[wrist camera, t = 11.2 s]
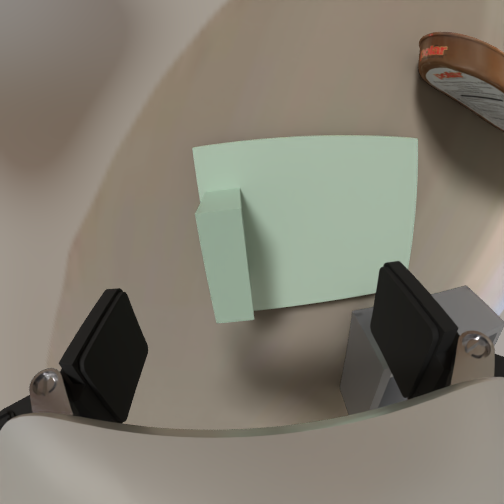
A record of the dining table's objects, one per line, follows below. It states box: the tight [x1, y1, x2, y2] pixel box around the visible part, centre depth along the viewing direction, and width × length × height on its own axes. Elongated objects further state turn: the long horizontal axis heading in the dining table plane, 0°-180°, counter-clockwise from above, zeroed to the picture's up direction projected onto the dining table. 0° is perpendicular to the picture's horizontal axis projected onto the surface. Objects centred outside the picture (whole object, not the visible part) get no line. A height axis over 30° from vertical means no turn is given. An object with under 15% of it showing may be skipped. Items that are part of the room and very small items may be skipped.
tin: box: [418, 32, 504, 132], centre depth 11 cm, size 15×3×8 cm, turn 81°
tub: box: [340, 286, 504, 415], centre depth 22 cm, size 14×11×7 cm
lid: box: [192, 135, 418, 323], centre depth 16 cm, size 14×11×7 cm
